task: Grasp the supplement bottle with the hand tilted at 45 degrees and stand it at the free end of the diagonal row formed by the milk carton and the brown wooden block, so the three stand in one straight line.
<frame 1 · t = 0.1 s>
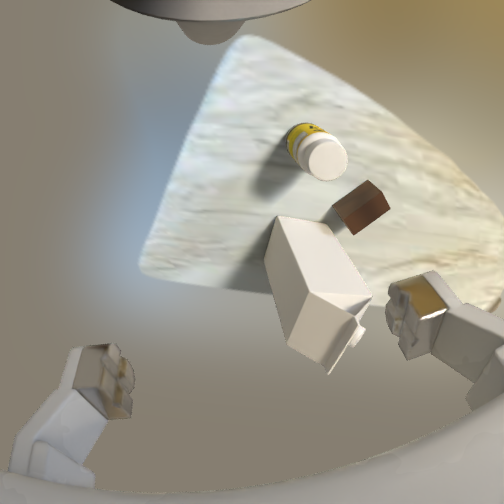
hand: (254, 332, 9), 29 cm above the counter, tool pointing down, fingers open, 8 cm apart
brown wooden block: (355, 200, 40), on the counter
supplement bottle: (303, 140, 35), on the counter
milk carton: (294, 240, 43), on the counter
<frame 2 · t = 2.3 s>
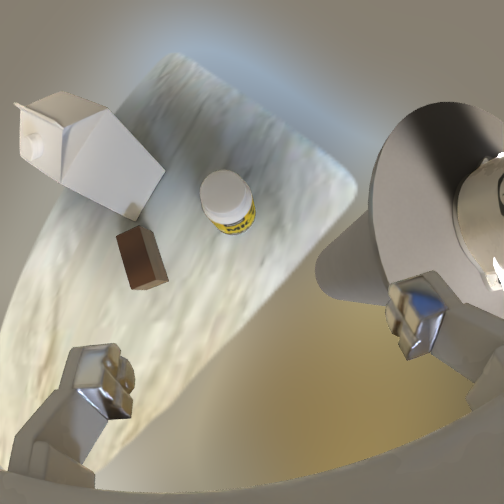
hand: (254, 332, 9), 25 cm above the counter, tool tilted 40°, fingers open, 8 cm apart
brown wooden block: (149, 260, 35), on the counter
supplement bottle: (234, 214, 35), on the counter
milk carton: (130, 185, 36), on the counter
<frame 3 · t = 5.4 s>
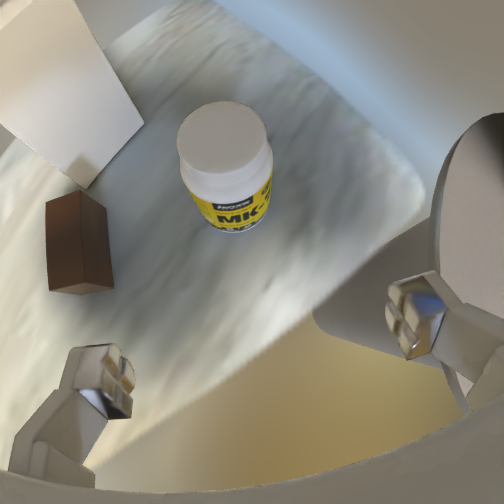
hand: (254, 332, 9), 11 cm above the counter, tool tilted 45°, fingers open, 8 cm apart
brown wooden block: (92, 251, 21), on the counter
supplement bottle: (235, 201, 21), on the counter
milk carton: (93, 138, 23), on the counter
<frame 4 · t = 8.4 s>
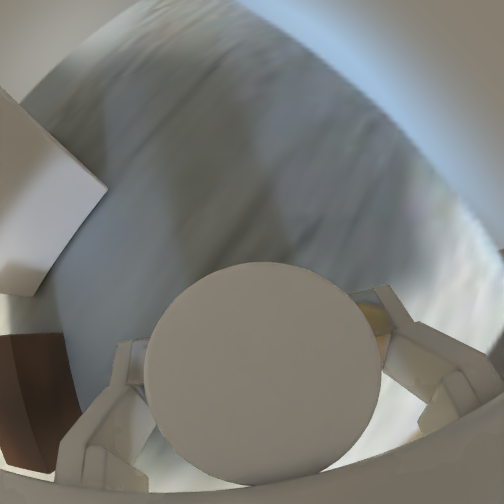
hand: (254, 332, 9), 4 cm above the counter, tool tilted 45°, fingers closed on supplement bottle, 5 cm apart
brown wooden block: (54, 391, 12), on the counter
supplement bottle: (260, 339, 13), on the counter, touching gripper
milk carton: (39, 209, 15), on the counter
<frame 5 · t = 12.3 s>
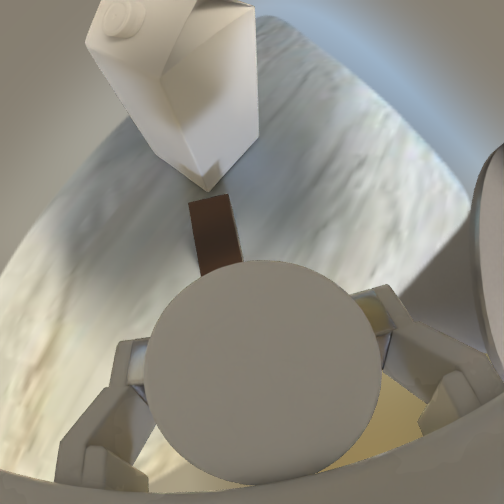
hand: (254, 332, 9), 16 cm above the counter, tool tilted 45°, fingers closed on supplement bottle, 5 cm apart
brown wooden block: (222, 248, 26), on the counter
supplement bottle: (260, 338, 13), point 12 cm above the counter, touching gripper
milk carton: (206, 145, 28), on the counter
when the fingers open (4 cm above the counter, at t = 16.2 s): supplement bottle stays where it is, on the counter.
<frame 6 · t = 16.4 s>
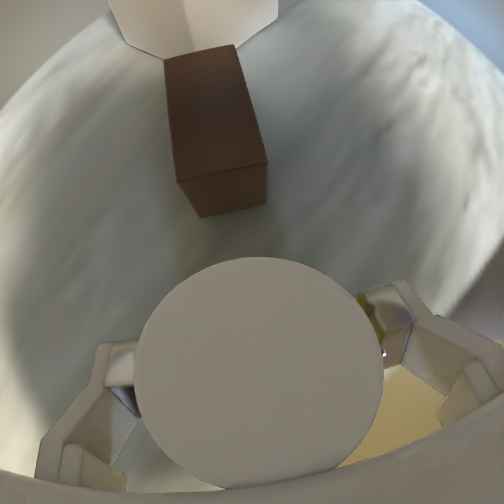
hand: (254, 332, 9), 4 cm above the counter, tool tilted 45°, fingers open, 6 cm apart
brown wooden block: (220, 152, 14), on the counter
supplement bottle: (259, 339, 13), on the counter
milk carton: (200, 30, 16), on the counter
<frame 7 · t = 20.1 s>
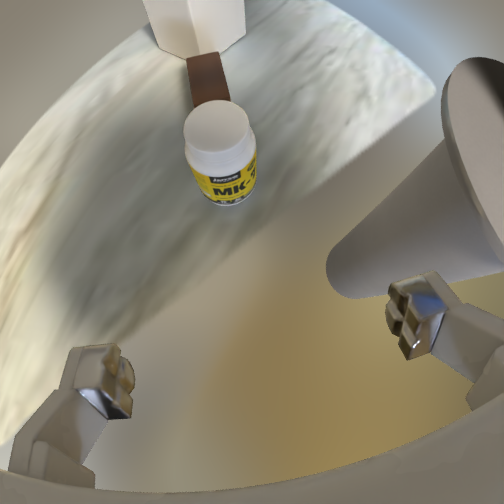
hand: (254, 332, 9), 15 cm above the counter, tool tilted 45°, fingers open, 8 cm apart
brown wooden block: (212, 102, 27), on the counter
supplement bottle: (228, 181, 26), on the counter
milk carton: (202, 42, 29), on the counter
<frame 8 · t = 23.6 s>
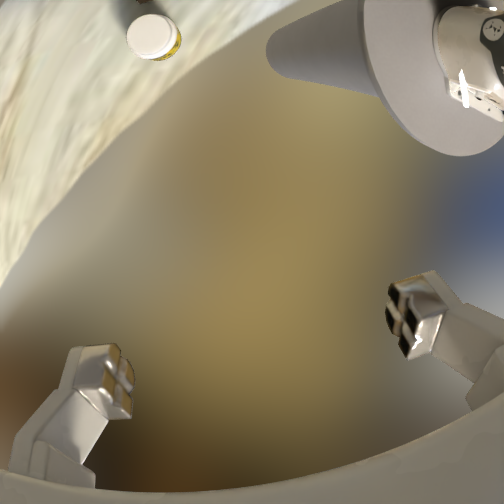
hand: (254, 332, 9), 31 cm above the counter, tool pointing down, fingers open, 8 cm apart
supplement bottle: (161, 41, 28), on the counter
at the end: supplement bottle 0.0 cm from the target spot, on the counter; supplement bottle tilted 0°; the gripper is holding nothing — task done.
